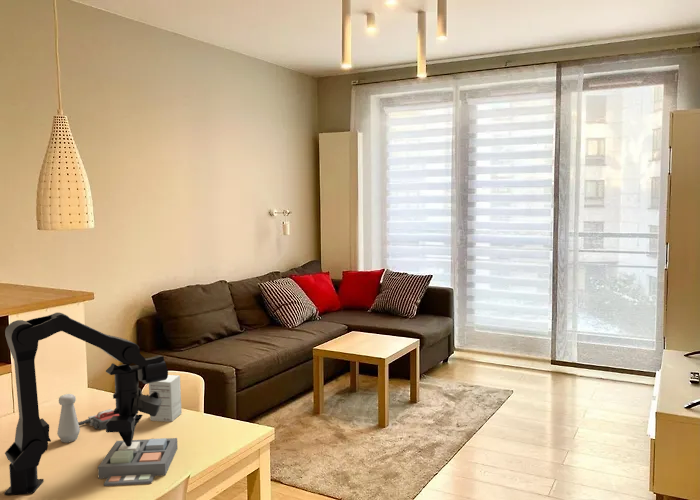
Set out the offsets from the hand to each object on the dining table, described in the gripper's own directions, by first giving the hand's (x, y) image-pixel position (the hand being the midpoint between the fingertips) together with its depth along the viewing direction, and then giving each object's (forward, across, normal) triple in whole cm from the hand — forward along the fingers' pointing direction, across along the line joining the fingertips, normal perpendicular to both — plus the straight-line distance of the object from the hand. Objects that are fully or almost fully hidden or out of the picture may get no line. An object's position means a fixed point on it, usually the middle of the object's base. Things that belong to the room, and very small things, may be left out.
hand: (129, 445), depth 158 cm
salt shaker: (+4, +14, +20) cm, 25 cm away
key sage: (+1, -7, 0) cm, 7 cm away
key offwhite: (+2, 0, 0) cm, 2 cm away
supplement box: (+4, +30, -4) cm, 30 cm away
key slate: (+1, 0, -7) cm, 7 cm away
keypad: (+3, -5, -3) cm, 7 cm away
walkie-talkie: (+4, +26, +15) cm, 30 cm away
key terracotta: (+2, -7, -7) cm, 10 cm away
